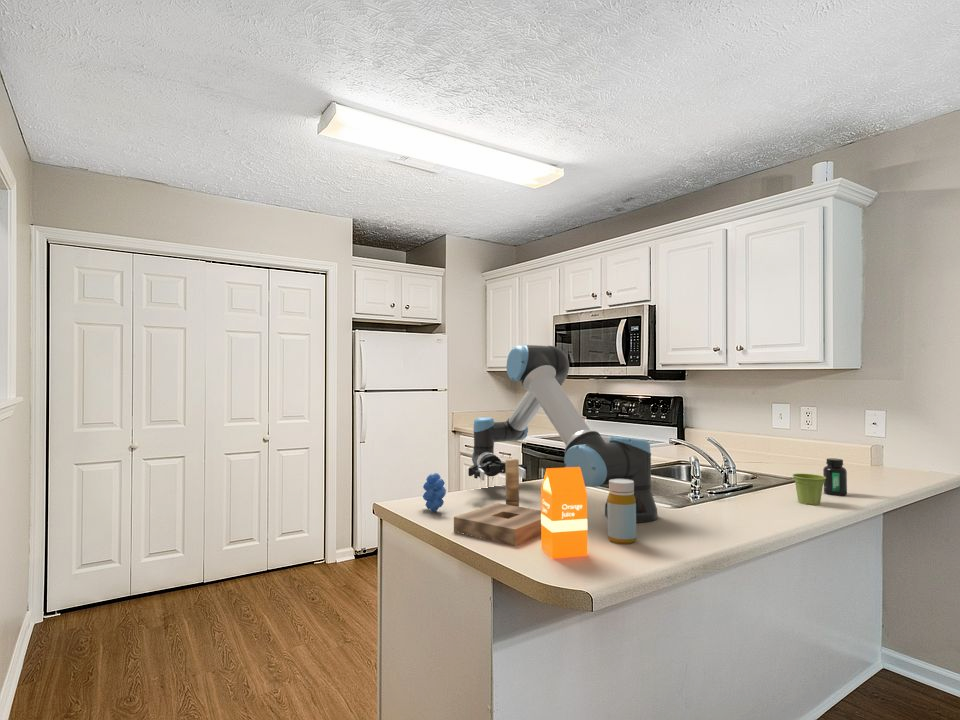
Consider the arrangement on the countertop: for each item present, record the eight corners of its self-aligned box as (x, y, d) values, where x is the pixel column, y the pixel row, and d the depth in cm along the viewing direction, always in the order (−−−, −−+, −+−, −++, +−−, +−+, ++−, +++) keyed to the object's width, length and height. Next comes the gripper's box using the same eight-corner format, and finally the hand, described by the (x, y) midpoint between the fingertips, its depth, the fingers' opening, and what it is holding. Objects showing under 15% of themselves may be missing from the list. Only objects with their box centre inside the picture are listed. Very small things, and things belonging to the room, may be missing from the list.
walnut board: (556, 527, 155) (556, 513, 155) (515, 545, 140) (515, 529, 140) (498, 516, 168) (497, 503, 168) (453, 531, 152) (453, 516, 152)
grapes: (456, 513, 172) (455, 473, 172) (436, 516, 168) (436, 476, 168) (437, 506, 181) (436, 468, 182) (418, 509, 178) (418, 470, 178)
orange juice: (541, 548, 137) (540, 465, 138) (575, 545, 139) (574, 464, 140) (552, 559, 130) (551, 471, 130) (588, 555, 132) (587, 469, 132)
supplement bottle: (840, 497, 191) (839, 461, 191) (819, 493, 196) (819, 458, 197) (851, 494, 194) (850, 459, 194) (830, 491, 200) (829, 457, 200)
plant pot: (808, 498, 189) (807, 472, 189) (833, 505, 180) (833, 477, 180) (785, 500, 186) (785, 474, 186) (810, 507, 177) (810, 479, 177)
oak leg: (521, 512, 172) (521, 459, 172) (514, 515, 169) (513, 461, 169) (510, 510, 175) (510, 458, 175) (503, 513, 171) (502, 460, 172)
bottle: (605, 536, 147) (604, 478, 148) (632, 536, 147) (631, 478, 147) (610, 544, 140) (610, 483, 141) (639, 544, 140) (638, 483, 140)
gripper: (523, 473, 205) (541, 485, 184) (454, 476, 200) (465, 488, 179) (523, 452, 205) (541, 462, 184) (454, 454, 200) (465, 464, 179)
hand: (504, 475), depth 182 cm, fingers open, 13 cm apart
